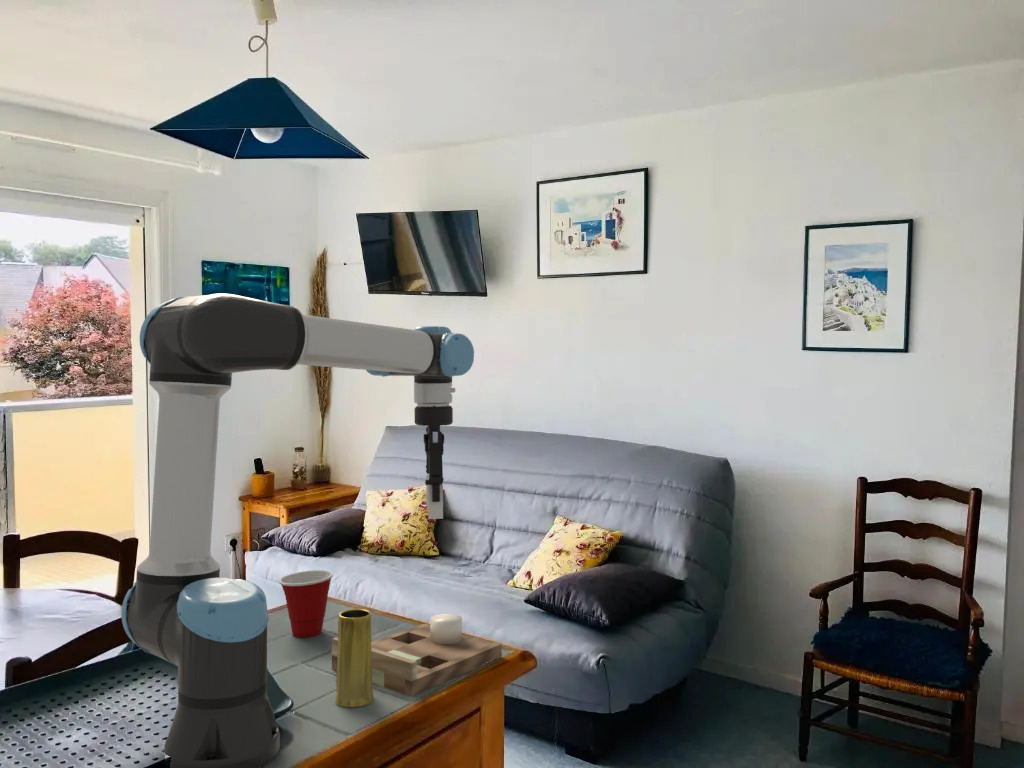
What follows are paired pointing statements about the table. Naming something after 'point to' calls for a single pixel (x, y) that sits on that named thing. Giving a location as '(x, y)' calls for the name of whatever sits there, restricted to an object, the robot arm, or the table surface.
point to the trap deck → (423, 659)
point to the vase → (354, 659)
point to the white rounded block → (446, 629)
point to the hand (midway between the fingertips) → (434, 512)
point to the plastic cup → (306, 600)
